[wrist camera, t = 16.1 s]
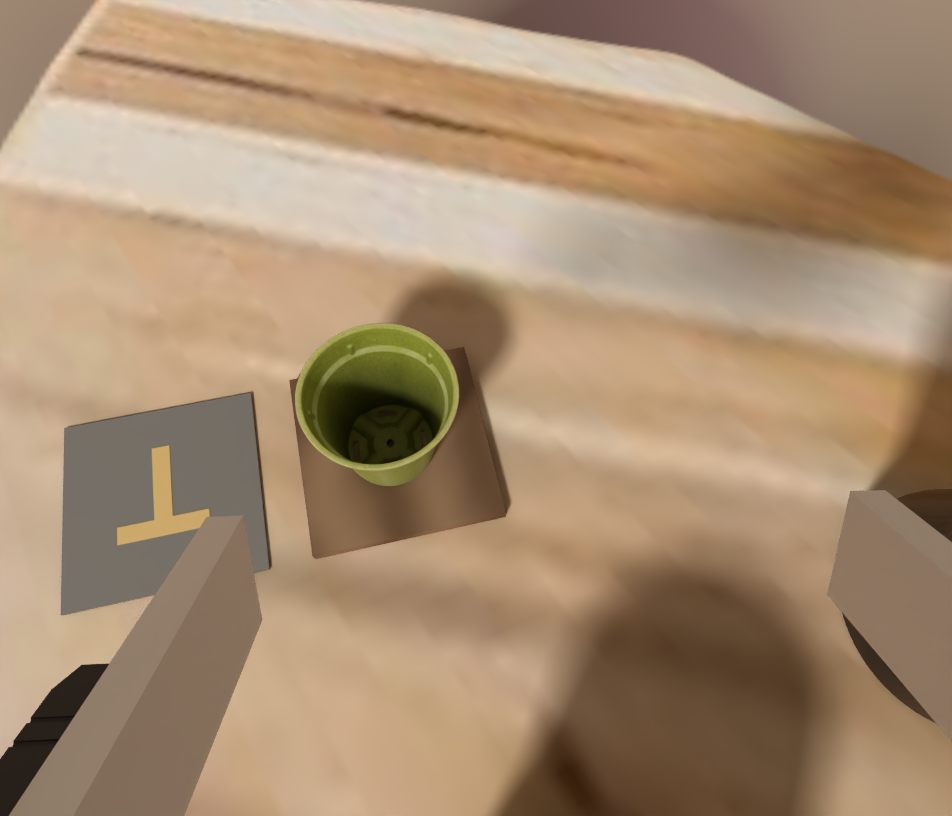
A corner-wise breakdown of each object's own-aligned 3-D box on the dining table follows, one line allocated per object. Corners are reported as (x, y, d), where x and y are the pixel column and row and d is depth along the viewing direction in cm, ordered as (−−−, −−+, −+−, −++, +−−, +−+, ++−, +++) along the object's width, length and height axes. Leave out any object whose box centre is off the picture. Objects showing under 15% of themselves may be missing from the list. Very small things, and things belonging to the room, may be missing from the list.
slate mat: (251, 393, 47) (250, 392, 47) (269, 569, 42) (269, 568, 42) (66, 429, 46) (64, 427, 45) (62, 615, 41) (60, 615, 40)
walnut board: (463, 353, 49) (463, 347, 48) (505, 516, 44) (506, 513, 43) (292, 386, 48) (289, 380, 47) (315, 559, 43) (312, 556, 42)
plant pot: (315, 396, 46) (287, 336, 38) (444, 373, 47) (442, 310, 39) (331, 522, 43) (303, 484, 35) (470, 494, 44) (474, 452, 36)
